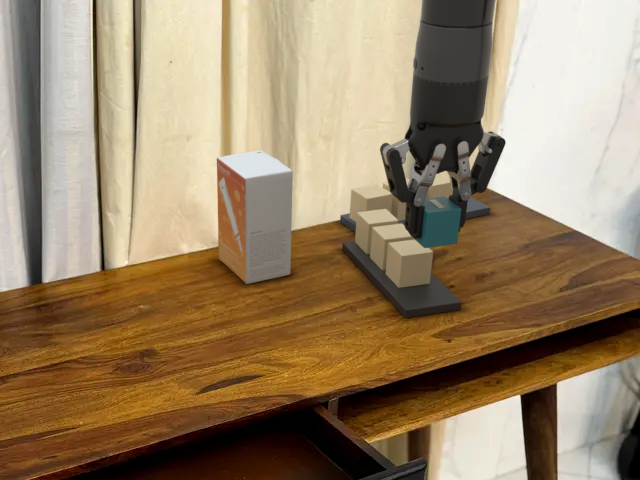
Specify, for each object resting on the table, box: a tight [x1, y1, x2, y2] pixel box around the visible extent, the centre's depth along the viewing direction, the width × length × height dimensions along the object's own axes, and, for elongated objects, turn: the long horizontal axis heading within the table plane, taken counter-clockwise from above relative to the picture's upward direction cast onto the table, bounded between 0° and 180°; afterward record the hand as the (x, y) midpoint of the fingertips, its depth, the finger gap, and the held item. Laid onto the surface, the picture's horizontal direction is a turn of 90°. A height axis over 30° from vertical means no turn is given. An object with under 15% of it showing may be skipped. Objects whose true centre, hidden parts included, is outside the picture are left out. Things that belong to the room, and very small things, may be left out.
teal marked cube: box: [410, 196, 461, 249], centre depth 109 cm, size 4×4×4 cm
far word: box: [339, 173, 491, 233], centre depth 134 cm, size 20×7×5 cm, turn 117°
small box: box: [216, 149, 294, 285], centre depth 119 cm, size 8×6×13 cm
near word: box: [341, 209, 463, 319], centre depth 119 cm, size 20×7×5 cm, turn 17°
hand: (434, 232), depth 109 cm, fingers closed on teal marked cube, 4 cm apart
